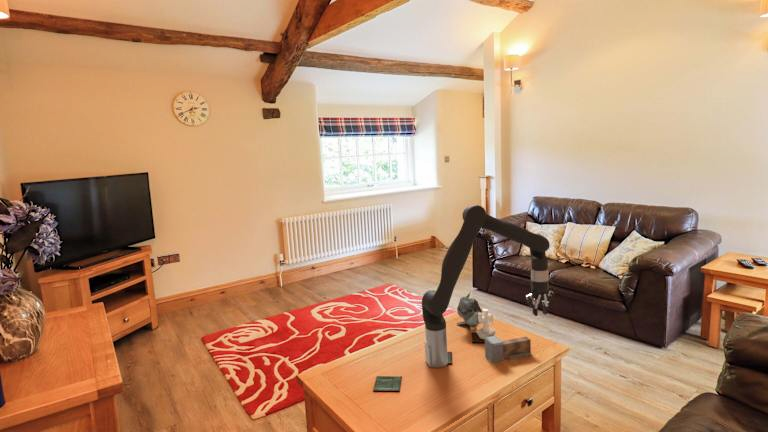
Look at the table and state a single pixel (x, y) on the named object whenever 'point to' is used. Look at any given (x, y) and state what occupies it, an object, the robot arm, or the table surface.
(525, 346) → the walnut slat
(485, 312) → the figurine
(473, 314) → the narwhal figurine
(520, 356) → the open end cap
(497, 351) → the socket end cap
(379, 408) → the table surface
